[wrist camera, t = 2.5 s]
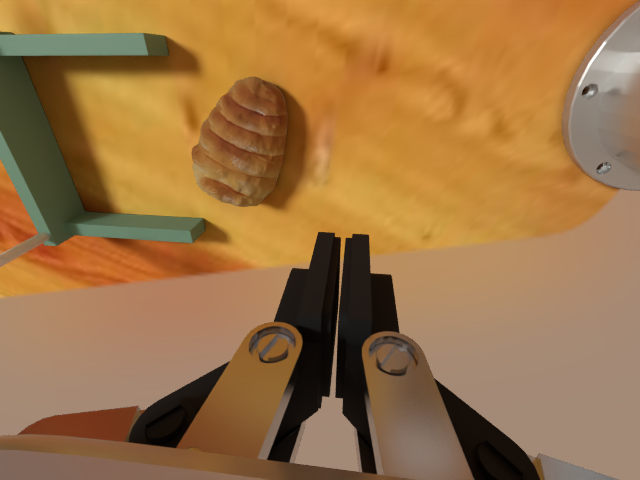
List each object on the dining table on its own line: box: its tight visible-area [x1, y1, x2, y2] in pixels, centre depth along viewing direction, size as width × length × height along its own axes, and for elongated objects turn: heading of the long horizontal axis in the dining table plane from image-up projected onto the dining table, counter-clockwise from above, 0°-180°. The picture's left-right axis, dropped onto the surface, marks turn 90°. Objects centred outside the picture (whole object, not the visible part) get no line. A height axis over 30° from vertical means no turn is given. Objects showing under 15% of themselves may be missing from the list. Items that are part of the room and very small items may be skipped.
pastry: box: [192, 77, 288, 207], centre depth 23 cm, size 9×7×4 cm
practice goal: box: [0, 32, 205, 267], centre depth 20 cm, size 13×16×14 cm
